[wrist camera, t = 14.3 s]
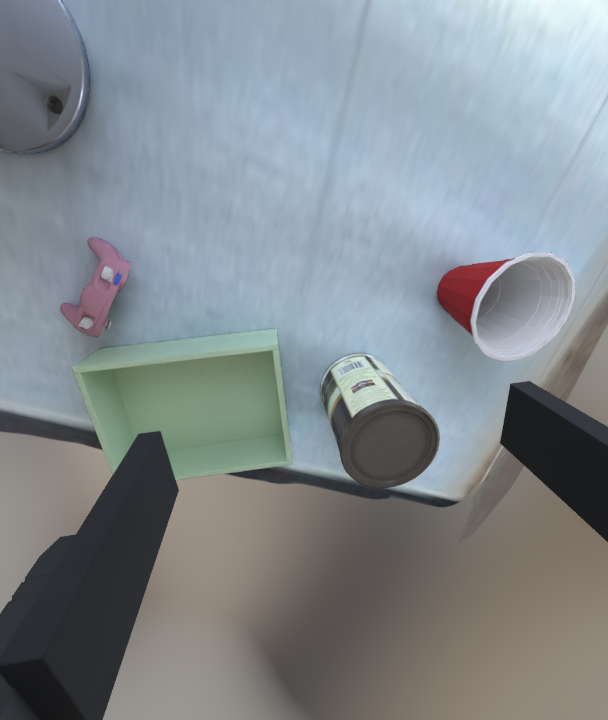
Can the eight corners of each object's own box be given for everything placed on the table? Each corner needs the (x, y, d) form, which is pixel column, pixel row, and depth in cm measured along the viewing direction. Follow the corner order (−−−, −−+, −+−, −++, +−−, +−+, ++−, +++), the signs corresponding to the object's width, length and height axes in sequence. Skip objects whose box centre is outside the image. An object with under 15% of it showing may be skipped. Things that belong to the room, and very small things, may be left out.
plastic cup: (459, 345, 45) (522, 381, 34) (401, 302, 42) (450, 327, 31) (516, 278, 42) (603, 294, 31) (458, 227, 39) (534, 225, 28)
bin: (100, 347, 40) (70, 367, 34) (276, 328, 42) (277, 344, 36) (136, 456, 46) (117, 488, 40) (289, 435, 48) (292, 464, 42)
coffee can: (355, 430, 49) (387, 504, 35) (304, 391, 45) (319, 455, 32) (406, 383, 46) (460, 442, 33) (357, 337, 43) (395, 383, 30)
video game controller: (102, 321, 41) (104, 350, 36) (58, 307, 38) (54, 337, 33) (134, 250, 38) (141, 271, 33) (90, 230, 35) (90, 249, 30)
